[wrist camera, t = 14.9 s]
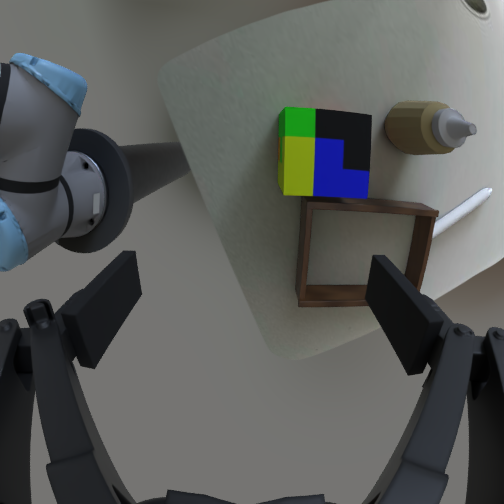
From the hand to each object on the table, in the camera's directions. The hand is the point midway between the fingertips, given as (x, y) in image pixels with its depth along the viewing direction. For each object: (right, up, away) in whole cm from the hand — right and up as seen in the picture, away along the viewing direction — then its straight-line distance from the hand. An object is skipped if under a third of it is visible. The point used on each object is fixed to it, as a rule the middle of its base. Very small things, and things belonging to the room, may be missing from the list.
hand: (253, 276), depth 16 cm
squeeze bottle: (+23, +20, +23) cm, 38 cm away
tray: (+17, +2, +30) cm, 34 cm away
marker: (+37, +9, +27) cm, 46 cm away
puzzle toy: (+9, +16, +25) cm, 31 cm away
